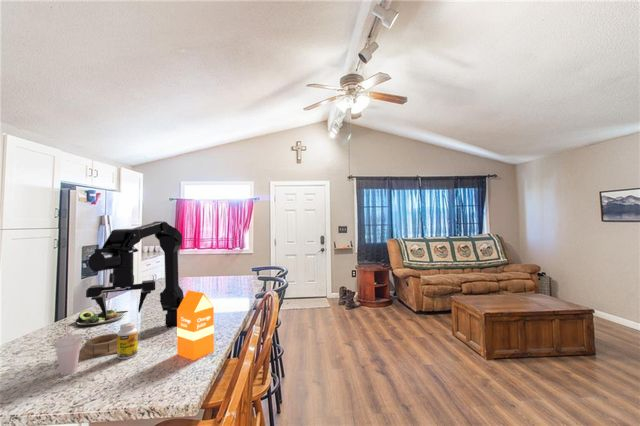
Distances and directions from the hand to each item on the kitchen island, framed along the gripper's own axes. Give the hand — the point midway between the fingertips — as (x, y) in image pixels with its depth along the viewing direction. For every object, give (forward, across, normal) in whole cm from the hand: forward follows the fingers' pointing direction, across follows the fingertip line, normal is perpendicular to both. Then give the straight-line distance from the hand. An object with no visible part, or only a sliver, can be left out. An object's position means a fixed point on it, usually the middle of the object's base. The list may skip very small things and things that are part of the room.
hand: (122, 314), depth 98 cm
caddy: (+13, +6, -8) cm, 16 cm away
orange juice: (+13, -21, +11) cm, 27 cm away
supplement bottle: (+13, -2, +2) cm, 13 cm away
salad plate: (+13, +13, -48) cm, 52 cm away
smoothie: (+13, +13, +6) cm, 19 cm away
